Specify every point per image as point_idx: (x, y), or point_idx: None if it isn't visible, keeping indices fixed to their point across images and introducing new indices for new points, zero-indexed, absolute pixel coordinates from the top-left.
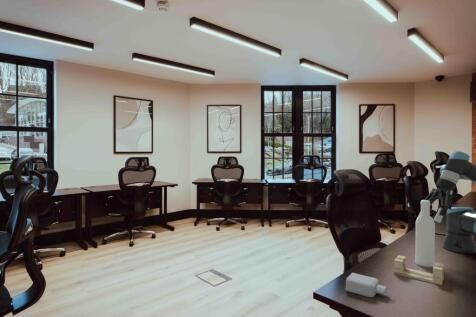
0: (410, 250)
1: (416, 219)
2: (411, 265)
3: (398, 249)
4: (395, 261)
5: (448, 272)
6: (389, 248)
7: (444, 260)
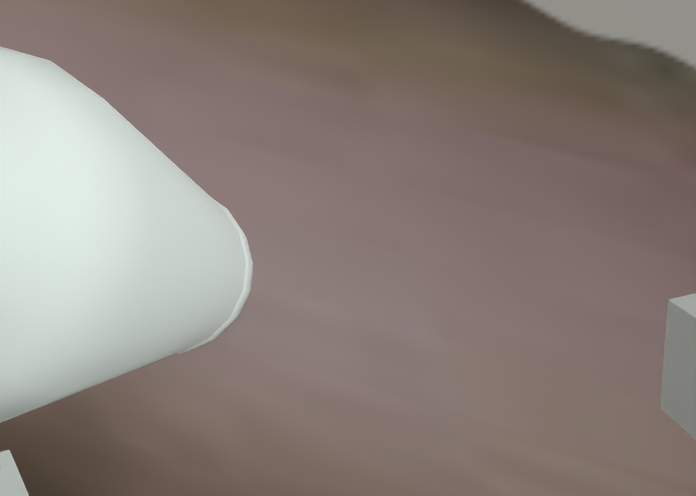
0: (582, 257)
1: (13, 53)
2: None
3: (580, 146)
4: None
5: None
6: (588, 65)
7: (344, 491)
